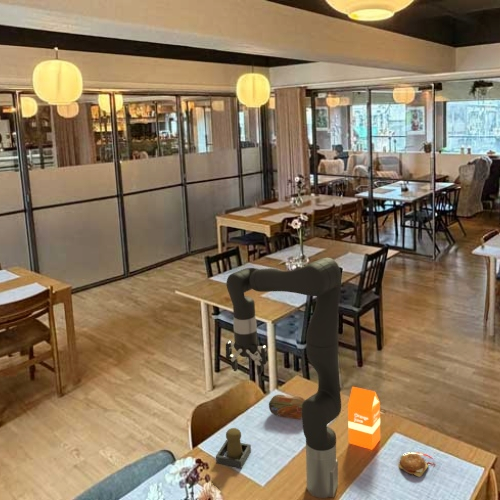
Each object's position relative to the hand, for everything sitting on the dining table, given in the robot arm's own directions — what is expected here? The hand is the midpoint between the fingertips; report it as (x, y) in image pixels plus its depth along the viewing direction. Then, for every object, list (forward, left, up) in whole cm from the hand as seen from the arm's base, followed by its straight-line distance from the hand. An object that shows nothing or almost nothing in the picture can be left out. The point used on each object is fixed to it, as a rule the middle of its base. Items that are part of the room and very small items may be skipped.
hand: (247, 372), depth 184 cm
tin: (-7, -22, -30) cm, 38 cm away
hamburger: (-56, -7, -31) cm, 64 cm away
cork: (+4, +7, -30) cm, 31 cm away
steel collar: (+4, +7, -30) cm, 31 cm away
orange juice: (-37, -15, -30) cm, 50 cm away
